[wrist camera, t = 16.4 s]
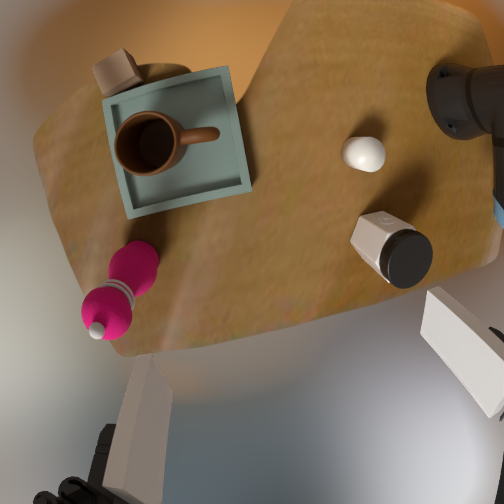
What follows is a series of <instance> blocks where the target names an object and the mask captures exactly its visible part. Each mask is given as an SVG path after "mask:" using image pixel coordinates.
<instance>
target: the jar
mask: <svg viewBox="0 0 504 504" xmlns="http://www.w3.org/2000/svg"><path fill="white" fill-rule="evenodd" d="M350 242H351V244H352V245H353V246H354V248H355V249H356V250H357V252H358V253H359V254H360V256H361V257H362V259H363V260H364V261H366V262H367V263H368V264H369V265H370V266H371V267H372V268H373V269H374V270H375V271H377V272H378V273H379V274H380V275H381V276H382V277H383V278H384V279H385V280H386V281H387V282H388V283H391V284H392V285H394V286H395V287H397V288H401V289H406V288H410V287H412V286H414V285H416V284H417V283H419V282H420V281H421V280H422V279H423V278H424V276H425V275H426V274H427V272H428V270H429V268H430V266H431V262H432V257H433V251H432V246H431V243H430V241H429V240H428V239H427V237H425V236H424V235H423V234H421V233H420V232H418V231H416V230H415V228H414V226H412V225H410V224H408V223H406V222H404V221H402V220H400V219H398V218H396V217H394V216H392V215H390V214H388V213H386V212H384V211H379V212H375V213H370V214H366V215H362V216H360V217H359V219H358V222H357V224H356V227H355V229H354V232H353V234H352V237H351V239H350Z"/></svg>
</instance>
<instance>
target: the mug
mask: <svg viewBox="0 0 504 504" xmlns="http://www.w3.org/2000/svg"><path fill="white" fill-rule="evenodd" d="M219 136H220V131H219V129H218V128H216V127H211V126H210V127H199V128H192V129H187V130H185V129H184V128H183V126H182V125H181V124H180V123H179V122H178V121H176V120H175V119H173V118H171V117H170V116H168V115H166V114H163V113H161V112H156V111H141V112H137V113H135V114H133V115H131V116H130V117H128V118H127V119H126V120H125V121H124V122H123V123H122V124H121V126H120V127H119V129H118V131H117V133H116V136H115V141H114V151H115V155H116V158H117V160H118V162H119V164H120V165H121V166H122V167H123V168H124V169H125V170H126V171H127V172H129V173H131V174H133V175H136V176H152V175H156V174H159V173H162V172H164V171H166V170H168V169H170V168H172V167H174V166H175V165H176V164H178V163H179V162H180V161H181V159H182V158H183V157H184V155H185V153H186V150H187V146H188V145H189V144H196V143H203V142H210V141H215V140H217V139H218V138H219Z"/></svg>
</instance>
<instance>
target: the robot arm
mask: <svg viewBox="0 0 504 504" xmlns="http://www.w3.org/2000/svg"><path fill="white" fill-rule="evenodd" d="M426 93H427V100H428V104H429V108H430V111H431V113H432V116H433V118H434V120H435V122H436V123H437V125H438V126H439V127H440V129H441V130H442V131H443V132H444V133H445V134H446V135H448V136H449V137H451V138H453V139H457V140H470V139H473V138H476V137H479V136H481V135H484V134H486V133H490V134H492V143H493V168H494V188H493V198H494V216H495V218H496V220H497V222H498V224H499V225H500V226H501V227H502V228H503V229H504V65H497V66H488V67H480V68H469V67H465V66H462V65H457V64H453V63H446V64H441V65H438V66H436V67H434V68H433V69H432V70H431V72H430V74H429V76H428V79H427V86H426ZM420 334H421V335H422V336H423V338H424V339H425V340H426V341H427V342H428V343H429V344H430V346H431V347H432V348H433V349H434V350H435V351H436V353H437V354H438V355H439V356H440V357H441V358H442V360H443V361H444V362H445V363H446V364H447V365H448V367H449V368H450V369H451V370H452V371H453V373H454V374H455V375H456V376H457V378H458V379H459V380H460V381H461V383H462V384H463V385H464V386H465V388H466V389H467V390H468V391H469V393H470V394H471V395H472V396H473V398H474V399H475V400H476V402H477V403H478V404H479V405H480V407H481V408H482V409H483V411H484V412H485V413H486V415H487V416H488V417H489V418H491V417H492V416H493V415H495V414H496V413H497V412H499V411H500V410H501V408H502V407H503V405H504V334H503V333H501V332H500V331H499V330H497V329H494V328H492V327H489V328H487V327H486V326H485V325H484V324H483V323H482V322H481V321H479V320H478V319H477V318H476V317H475V316H474V315H472V314H471V313H470V312H469V311H468V310H467V309H465V308H464V307H463V306H462V305H461V304H460V303H458V302H457V301H456V300H455V299H454V298H452V297H451V296H450V295H449V294H447V293H446V292H445V291H444V290H443V289H441V288H440V287H435V288H432V289H430V290H428V291H427V298H426V304H425V310H424V316H423V322H422V327H421V332H420ZM172 397H173V393H172V391H171V389H170V387H169V385H168V384H167V382H166V380H165V378H164V376H163V374H162V372H161V370H160V368H159V366H158V364H157V363H156V361H155V359H154V357H153V355H152V354H145V355H137V357H136V360H135V363H134V366H133V369H132V373H131V376H130V379H129V382H128V386H127V389H126V392H125V396H124V399H123V403H122V406H121V410H120V413H119V417H118V421H117V424H106V426H105V427H104V428H103V430H102V431H101V433H100V435H99V439H98V442H97V444H98V445H97V446H96V450H95V454H94V457H93V461H92V465H91V469H90V473H89V477H88V482H85V481H84V480H82V479H80V478H79V477H68V478H66V479H65V480H63V481H62V482H61V484H60V486H59V489H58V495H59V497H56V496H55V495H53V494H52V493H50V492H48V491H41V492H39V493H38V494H37V495H36V496H35V498H34V500H33V504H162V491H163V478H164V467H165V455H166V446H167V437H168V428H169V420H170V412H171V404H172ZM503 418H504V412H503V414H502V415H501V417H500V421H502V419H503ZM495 504H504V455H503V462H502V469H501V475H500V480H499V486H498V490H497V495H496V499H495Z"/></svg>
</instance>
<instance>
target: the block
mask: <svg viewBox="0 0 504 504" xmlns="http://www.w3.org/2000/svg"><path fill="white" fill-rule="evenodd" d="M92 70H93V73H94V75H95V78H96V80H97V82H98V85H99V87H100V90H101V92H102V94H103V95H104V96H107V97H112V96H115V95H117V94H120V93H123V92H126V91H129V90H132V89H134V88H135V87H137V86H139V85H140V84H142V83H144V80H143V78H142V75H141V73H140V71H139V69H138V67H137V65H136V62H135V61H134V58H133V57H132V56H131V55H130V54H129V53H128V52H127V51H126V50H125V49H124V48H121V49H119V50H118V51H116V52H114V53H113V54H111V55H110V56H108V57H107V58H105V59H103V60H102V61H101V62H99V63H98V64H96V65H95V66H93V67H92Z"/></svg>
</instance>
